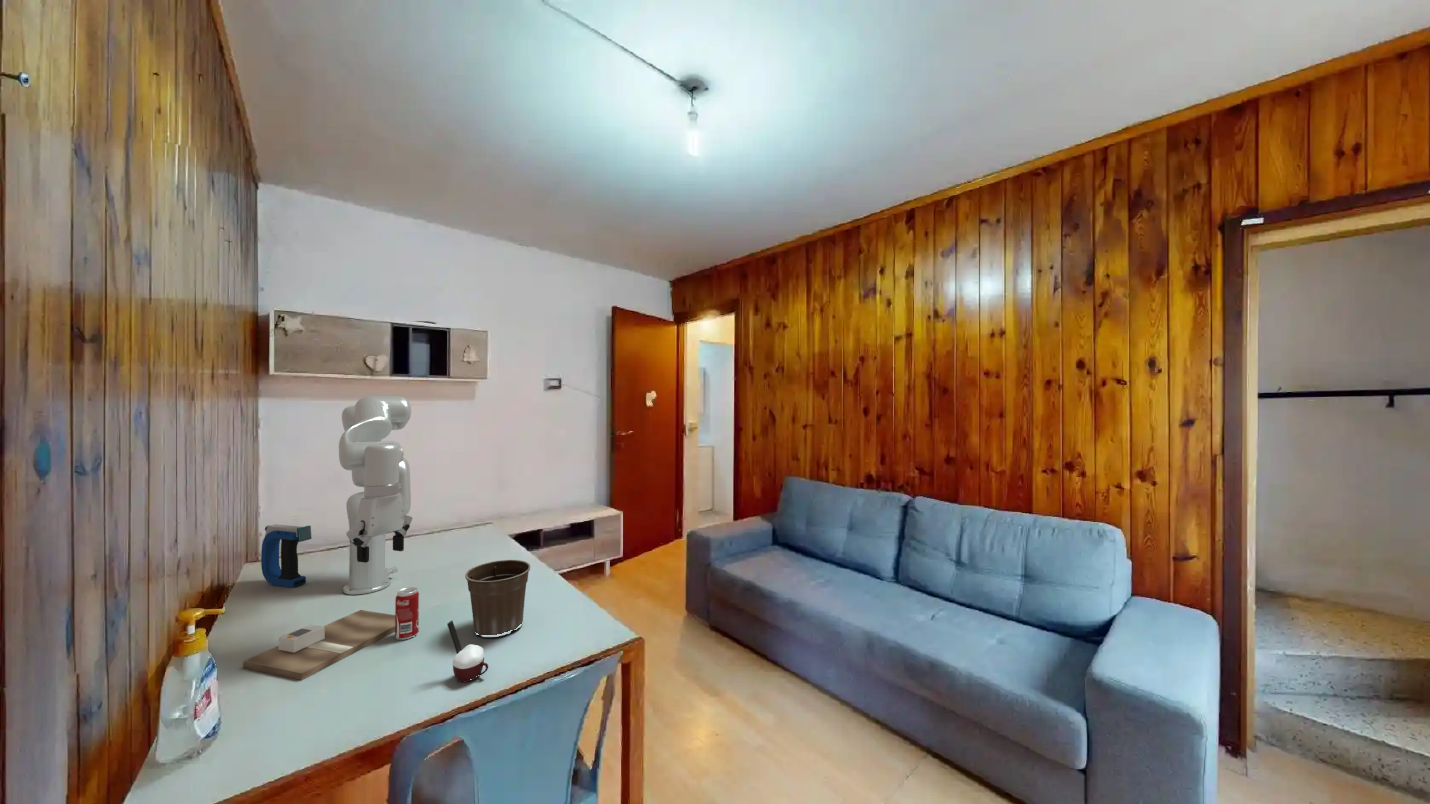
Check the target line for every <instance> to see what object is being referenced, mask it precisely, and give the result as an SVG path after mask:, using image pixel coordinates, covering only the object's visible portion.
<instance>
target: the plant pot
mask: <svg viewBox="0 0 1430 804" xmlns="http://www.w3.org/2000/svg"><path fill="white" fill-rule="evenodd" d="M530 570H531V564H530V563H529V562H527V561H525V560H520V559H504V560H494V561H489V562H484V563H482V564H479V565H476V566H474V567H472V568H469V569H468V570H467V571H466V572H465V574H464V577H465V580H466V581H467V589H468V592H469V595H470V603H471V612H472V620H473V621H472V622H473V632H474V631H475V632H476V633H478V634H479V635H497V634H502V633H504V632H508V631H510V630H514V629H516V628H517V627H518V626H519V625H520V624H522V622H523V623H524V611H525V610H524V609H525V601H526V589H527V583H528V581H529V572H530ZM522 625H523V624H522ZM514 631H515V630H514Z"/></svg>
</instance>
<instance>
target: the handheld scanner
mask: <svg viewBox="0 0 1430 804" xmlns="http://www.w3.org/2000/svg"><path fill="white" fill-rule="evenodd" d="M264 531H265V535H264V538H263V540H262V544H261V553H260V555H261V556H260V559H261V561H260V562H261V563H260V565H261V572H262V576H263V578H264V580H265V581H266V582H267V583H268V584H269V585H272V586H274V585H277V586H276V587H282V586H284V588H290V589H291V588H293V587H294V588H296V586H297V587H299V586H301V584H302V585H305V584H306V582H307V577H306V575H305V576H304V575H301V574H300V572H299V555H298V544H299V543H301V542H305V541H309V540H312V526H311V525H305V526H296V525H286V524H278V523H277V524H270V525H266V526H265V528H264ZM298 585H299V586H298ZM294 588H293V589H294Z"/></svg>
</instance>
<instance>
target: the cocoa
mask: <svg viewBox="0 0 1430 804" xmlns="http://www.w3.org/2000/svg"><path fill="white" fill-rule="evenodd" d="M447 628H448V631H449V634H450V636H451V640H452V643H453V646H454V649H455V650H454V651H455V652H456V653H455V655H454V657H453V659H452V671H453V675H454V677H455V678H456V680H457V681H459V680H461V681H460V682H463V681H467V680H470V679H473V678H475V677H476V676H478V675H481V676H482V675H484V674H485V673H486V672H487V671H488V669H489V664H488V663H487V662H485V657H484V656H485V655H484V648H483V647H482V646H480V645H476V644H471V643H470V644H468V645H466V646H465V647H463V648H462V645H461V643H460V638H459V636H458V633H457V630H456V626H455V624H454V621H453V620H449V622H447ZM484 666H485V669H484V671H483V667H484ZM478 677H479V676H478ZM475 679H476V678H475ZM473 680H474V679H473Z"/></svg>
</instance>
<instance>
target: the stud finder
mask: <svg viewBox="0 0 1430 804" xmlns="http://www.w3.org/2000/svg"><path fill="white" fill-rule="evenodd" d="M324 626H325V625H323V626H322V625H318V624H317V625H316V624H312V623H309V624H307V625H304V626H302V627H299V628H297V629H295V630H292V631H290V632H287V633H285V634H283V635H281V636H278V640H277V641H278V650H283V651H288V652H293V653H294V652H297V651H299V650H301V649H303V648H305V647H307V646H310V645H312V644H314V643H316V642H318V641H320V640H322V639H325V627H324Z"/></svg>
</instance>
